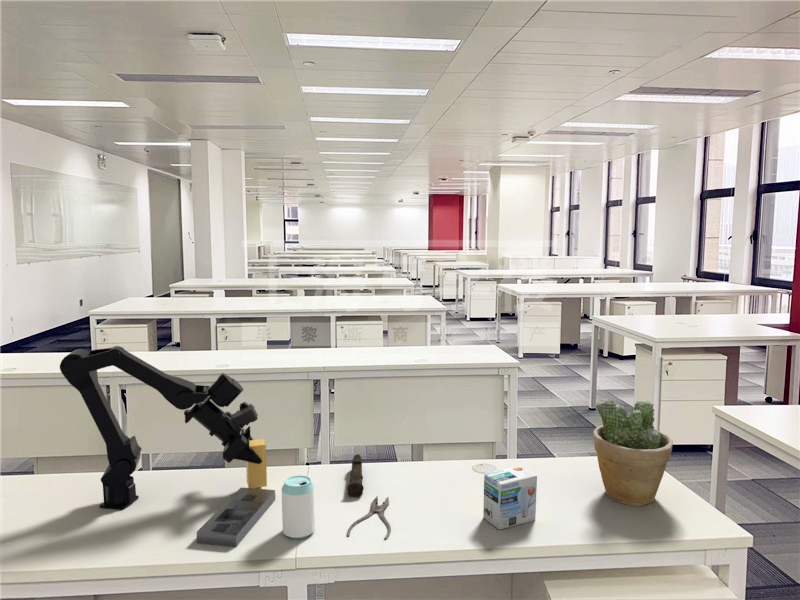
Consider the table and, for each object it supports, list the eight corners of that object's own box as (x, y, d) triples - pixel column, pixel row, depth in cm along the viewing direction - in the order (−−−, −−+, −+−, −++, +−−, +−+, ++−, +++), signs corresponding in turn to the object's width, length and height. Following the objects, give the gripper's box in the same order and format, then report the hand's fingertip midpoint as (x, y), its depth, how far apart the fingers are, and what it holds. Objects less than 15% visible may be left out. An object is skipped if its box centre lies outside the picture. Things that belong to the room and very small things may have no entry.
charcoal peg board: (196, 542, 127) (196, 531, 127) (241, 496, 148) (240, 487, 148) (236, 546, 125) (236, 535, 125) (275, 499, 147) (275, 489, 147)
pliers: (346, 538, 128) (349, 496, 148) (346, 542, 128) (349, 500, 148) (391, 537, 128) (388, 496, 148) (391, 541, 128) (388, 499, 148)
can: (316, 524, 135) (315, 473, 133) (312, 540, 128) (311, 487, 126) (285, 524, 135) (284, 473, 133) (280, 540, 128) (278, 487, 126)
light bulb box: (499, 530, 132) (500, 484, 131) (481, 517, 138) (482, 473, 137) (537, 519, 137) (538, 475, 136) (518, 507, 143) (519, 464, 141)
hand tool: (363, 498, 148) (363, 480, 148) (347, 498, 148) (347, 480, 148) (367, 468, 167) (367, 452, 166) (353, 467, 167) (353, 452, 166)
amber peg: (248, 488, 150) (247, 446, 149) (246, 481, 154) (245, 440, 153) (266, 486, 151) (265, 444, 150) (264, 479, 156) (263, 438, 154)
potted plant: (628, 475, 161) (632, 385, 158) (687, 503, 145) (693, 404, 141) (575, 488, 153) (579, 394, 150) (632, 519, 137) (637, 415, 134)
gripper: (235, 407, 140) (284, 448, 144) (239, 386, 158) (282, 424, 162) (201, 442, 139) (251, 482, 143) (209, 417, 157) (253, 454, 161)
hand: (261, 458), depth 152 cm, fingers closed on amber peg, 5 cm apart
